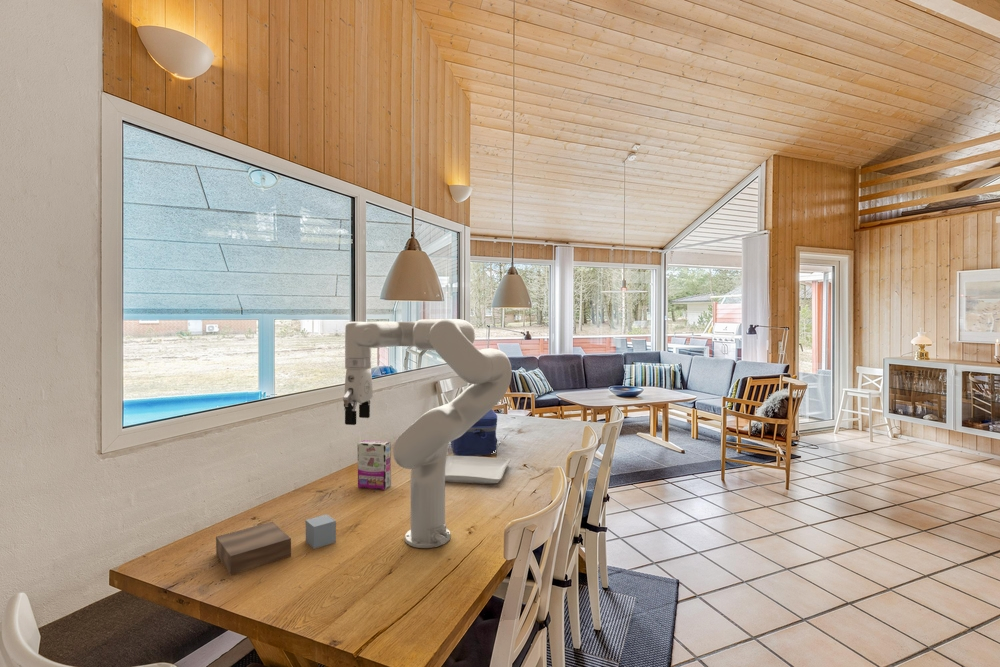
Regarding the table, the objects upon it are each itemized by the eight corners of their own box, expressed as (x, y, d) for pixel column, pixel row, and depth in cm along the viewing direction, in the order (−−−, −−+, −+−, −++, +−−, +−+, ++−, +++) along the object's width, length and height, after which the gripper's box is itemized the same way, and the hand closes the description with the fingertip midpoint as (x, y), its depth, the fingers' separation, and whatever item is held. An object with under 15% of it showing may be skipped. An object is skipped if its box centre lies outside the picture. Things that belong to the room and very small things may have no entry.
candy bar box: (391, 485, 179) (391, 441, 178) (385, 490, 174) (385, 444, 174) (364, 483, 182) (363, 439, 181) (357, 487, 177) (356, 442, 176)
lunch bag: (501, 456, 218) (502, 411, 217) (454, 459, 214) (454, 412, 213) (489, 439, 248) (489, 399, 248) (447, 441, 244) (447, 400, 243)
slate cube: (335, 542, 134) (335, 520, 134) (314, 549, 130) (314, 526, 130) (327, 535, 138) (326, 514, 138) (305, 541, 134) (305, 519, 134)
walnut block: (291, 557, 126) (290, 538, 126) (230, 576, 116) (230, 556, 116) (273, 539, 136) (272, 521, 136) (216, 555, 127) (216, 536, 127)
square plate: (500, 488, 178) (501, 478, 177) (428, 484, 182) (428, 474, 182) (511, 466, 204) (511, 457, 204) (447, 463, 209) (447, 454, 208)
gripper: (358, 366, 135) (357, 428, 136) (381, 361, 152) (380, 415, 153) (332, 365, 136) (332, 426, 137) (358, 360, 153) (357, 414, 154)
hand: (357, 420), depth 145 cm, fingers open, 9 cm apart
